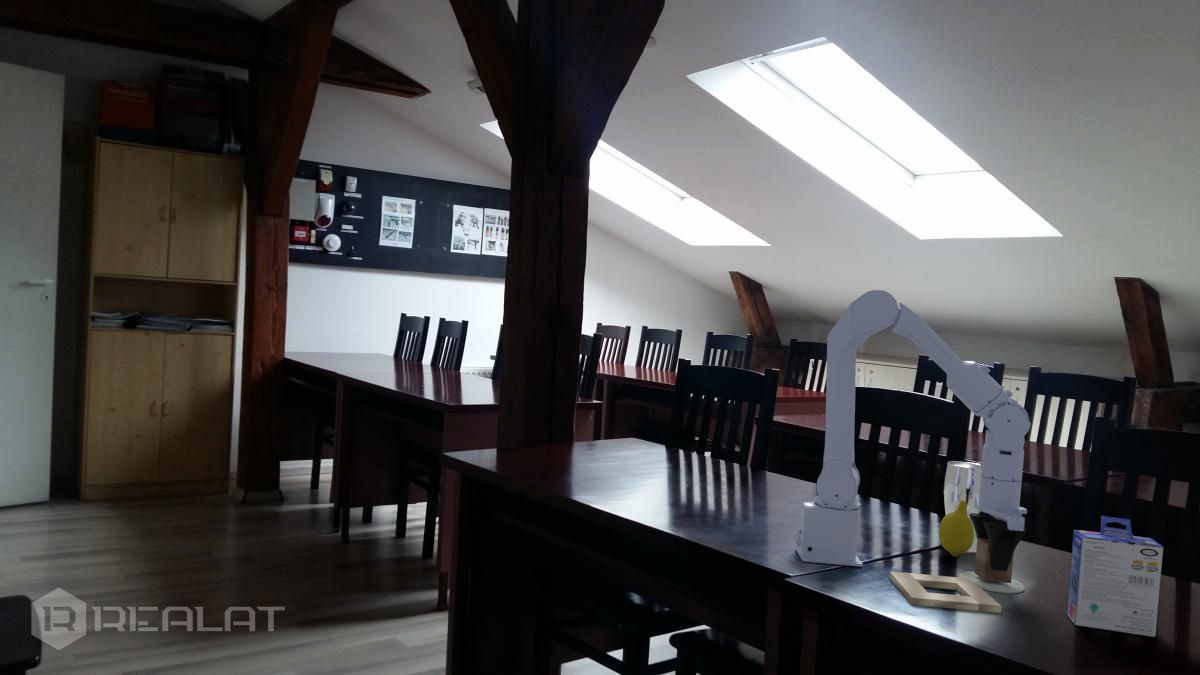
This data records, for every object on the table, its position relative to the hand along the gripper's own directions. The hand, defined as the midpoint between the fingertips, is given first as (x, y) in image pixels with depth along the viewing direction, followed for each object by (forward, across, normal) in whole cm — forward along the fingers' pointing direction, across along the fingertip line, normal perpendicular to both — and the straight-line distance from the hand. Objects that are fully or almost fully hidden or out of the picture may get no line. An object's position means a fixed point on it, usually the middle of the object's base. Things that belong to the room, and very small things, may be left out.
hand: (993, 565), depth 132 cm
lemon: (+3, +14, +1) cm, 14 cm away
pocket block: (+3, -8, +10) cm, 13 cm away
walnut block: (+2, 0, 0) cm, 2 cm away
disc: (+3, 0, 0) cm, 3 cm away
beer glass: (+3, +20, -2) cm, 20 cm away
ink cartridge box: (+3, -15, -10) cm, 18 cm away
